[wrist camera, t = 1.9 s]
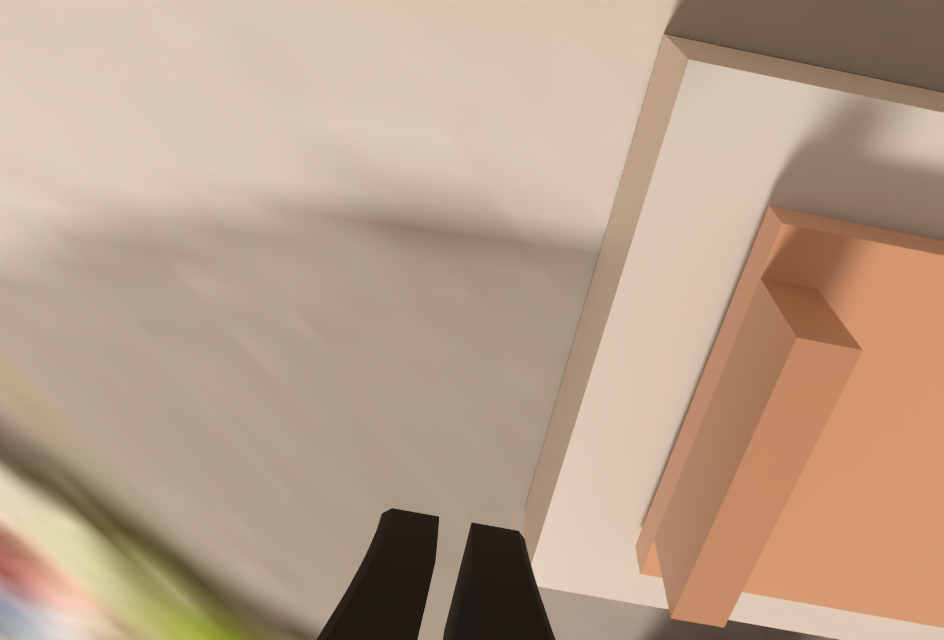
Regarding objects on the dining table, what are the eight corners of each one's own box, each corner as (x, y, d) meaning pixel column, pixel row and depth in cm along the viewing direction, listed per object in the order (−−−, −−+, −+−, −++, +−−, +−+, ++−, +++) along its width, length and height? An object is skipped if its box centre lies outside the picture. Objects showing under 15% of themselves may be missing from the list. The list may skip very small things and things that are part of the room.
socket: (1261, 159, 16) (1384, 205, 13) (965, 589, 21) (1016, 670, 19) (663, 34, 15) (689, 59, 13) (524, 509, 21) (525, 583, 19)
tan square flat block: (1209, 294, 14) (1359, 382, 11) (984, 609, 18) (1059, 725, 15) (769, 205, 14) (823, 276, 11) (634, 546, 17) (654, 654, 15)
